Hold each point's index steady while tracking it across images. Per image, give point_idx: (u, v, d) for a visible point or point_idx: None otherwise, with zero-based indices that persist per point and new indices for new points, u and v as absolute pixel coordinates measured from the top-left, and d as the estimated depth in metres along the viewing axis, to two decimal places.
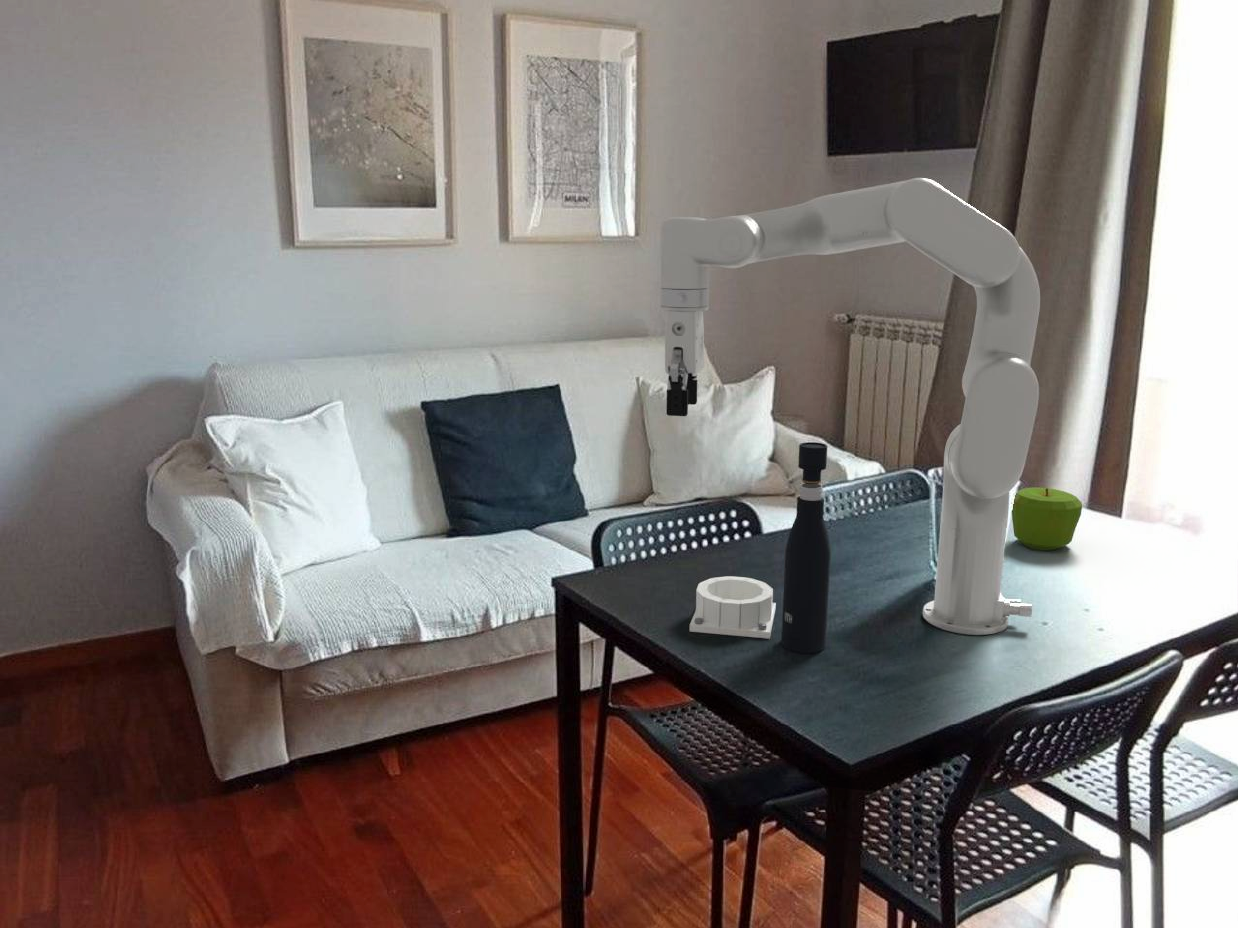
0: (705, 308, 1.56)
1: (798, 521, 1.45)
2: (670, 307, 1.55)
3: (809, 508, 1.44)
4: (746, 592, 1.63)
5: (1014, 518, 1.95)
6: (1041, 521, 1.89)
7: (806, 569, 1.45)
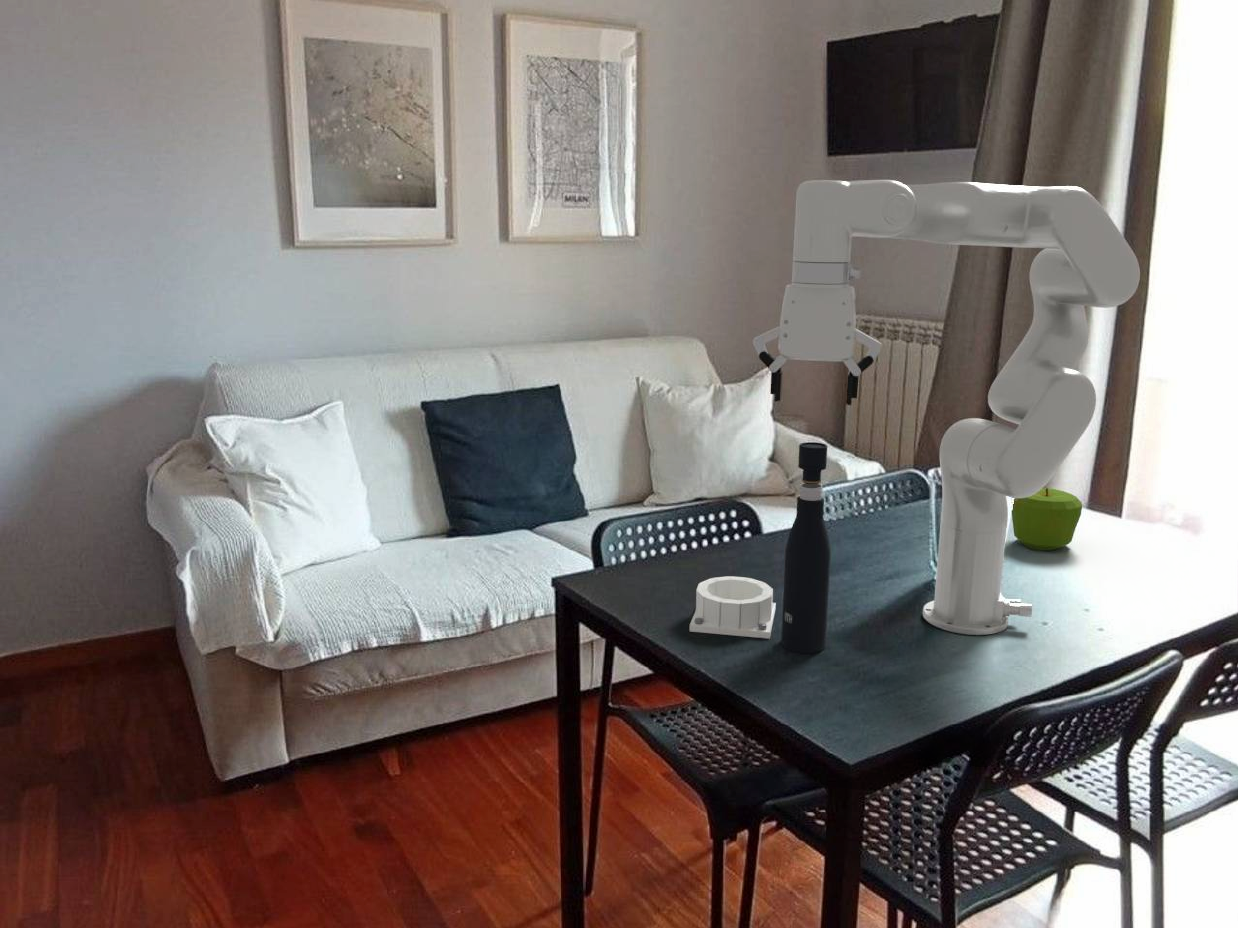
0: None
1: (798, 521, 1.45)
2: (845, 283, 1.36)
3: (809, 508, 1.44)
4: (746, 592, 1.63)
5: (1014, 518, 1.95)
6: (1041, 521, 1.89)
7: (806, 569, 1.45)
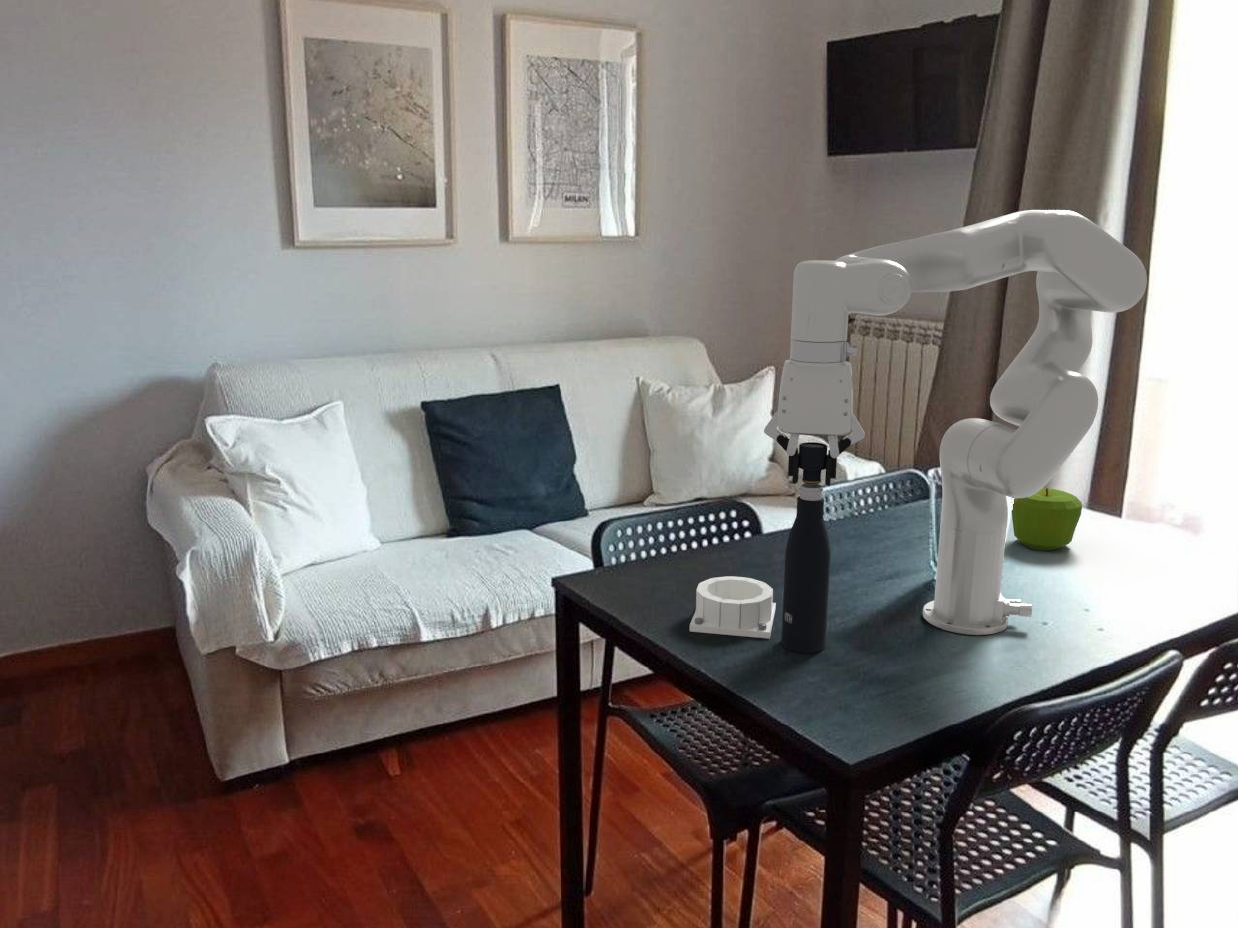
0: None
1: (798, 521, 1.45)
2: (842, 361, 1.39)
3: (809, 508, 1.44)
4: (746, 592, 1.63)
5: (1014, 518, 1.95)
6: (1041, 521, 1.89)
7: (806, 569, 1.45)
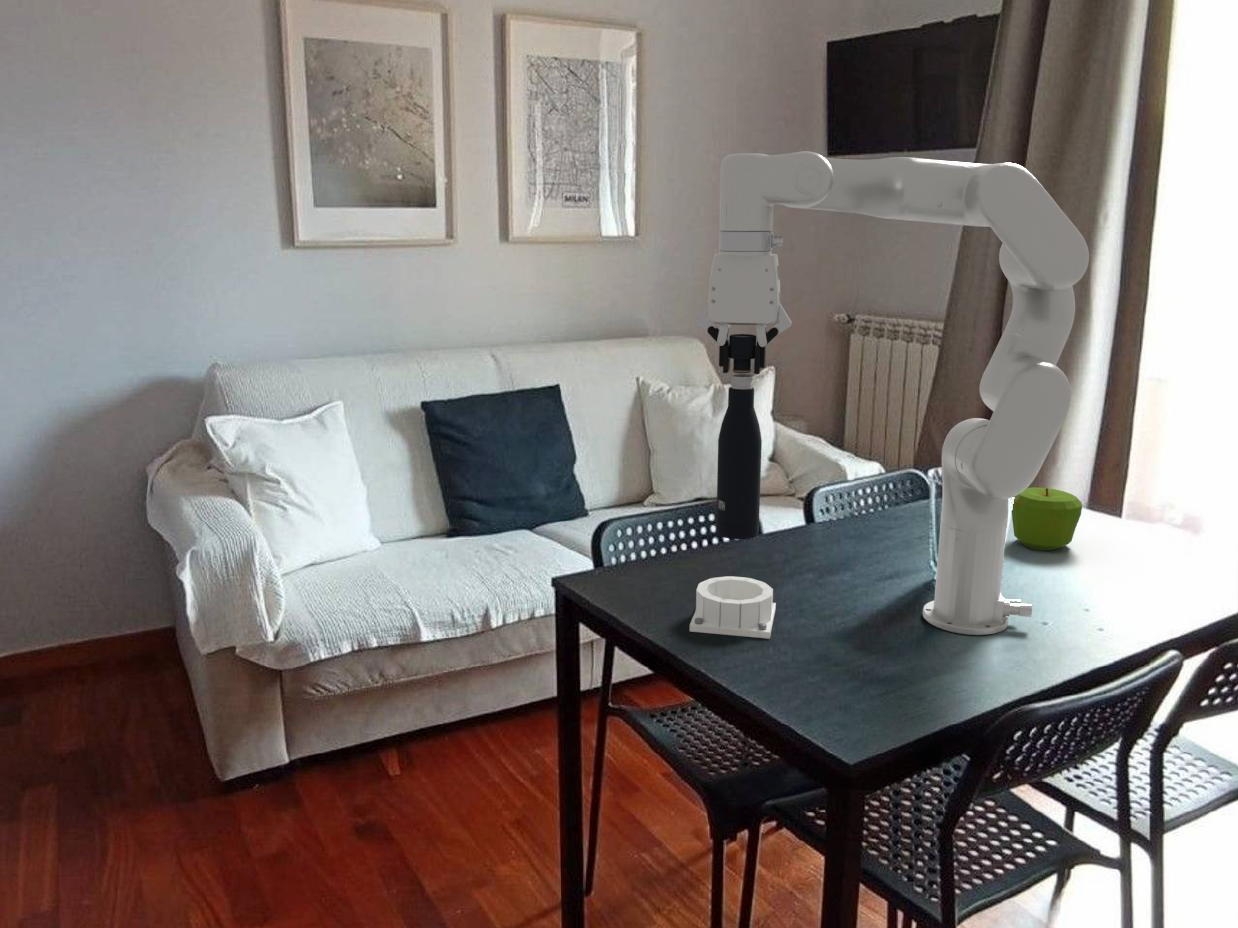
0: None
1: (729, 410, 1.51)
2: (768, 251, 1.44)
3: (739, 397, 1.50)
4: (746, 592, 1.63)
5: (1014, 518, 1.95)
6: (1041, 521, 1.89)
7: (737, 456, 1.50)
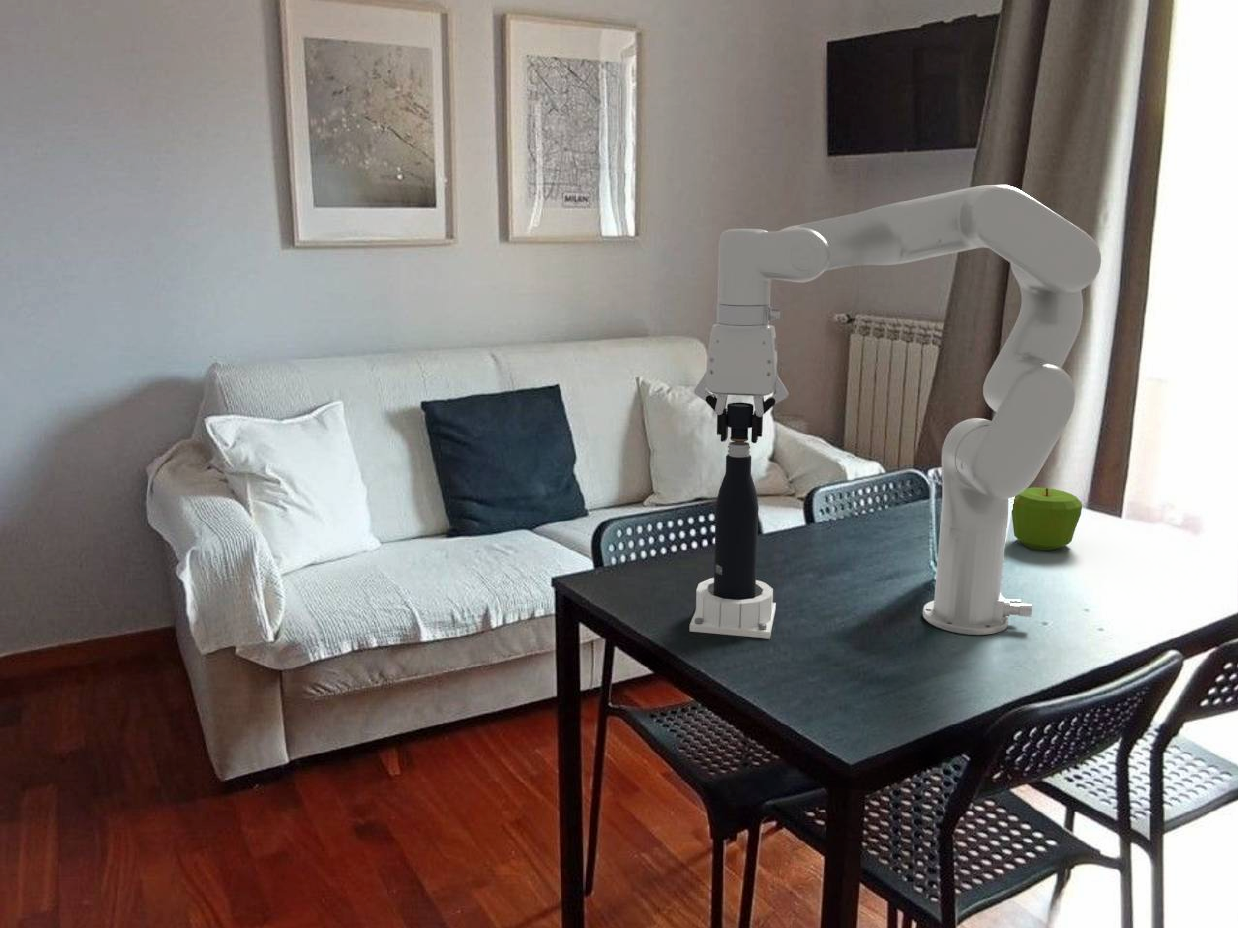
0: None
1: (727, 477, 1.53)
2: (765, 324, 1.47)
3: (736, 465, 1.52)
4: None
5: (1014, 518, 1.95)
6: (1041, 521, 1.89)
7: (734, 522, 1.53)
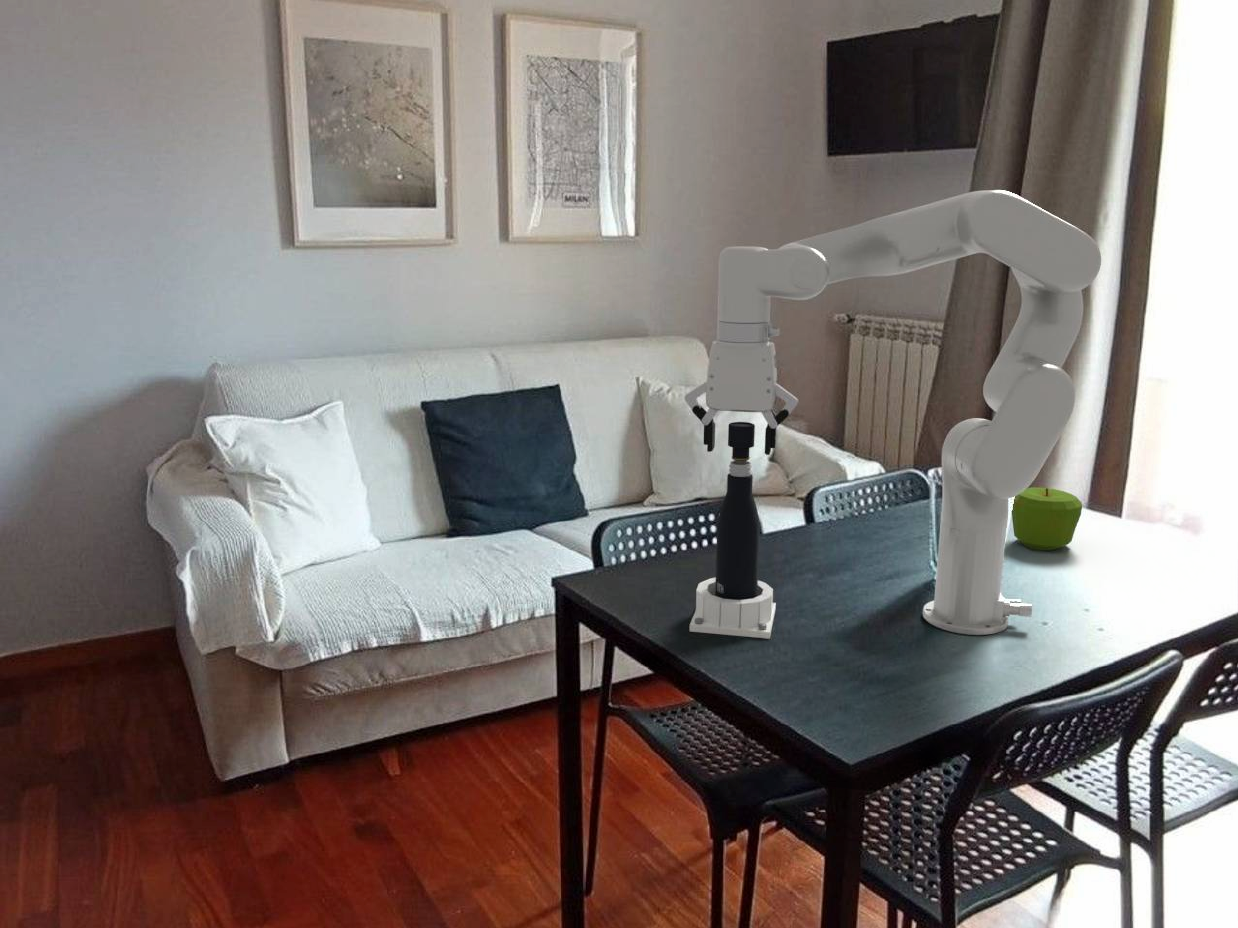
0: None
1: (728, 496, 1.54)
2: (765, 341, 1.47)
3: (738, 484, 1.53)
4: None
5: (1014, 518, 1.95)
6: (1041, 521, 1.89)
7: (736, 541, 1.54)
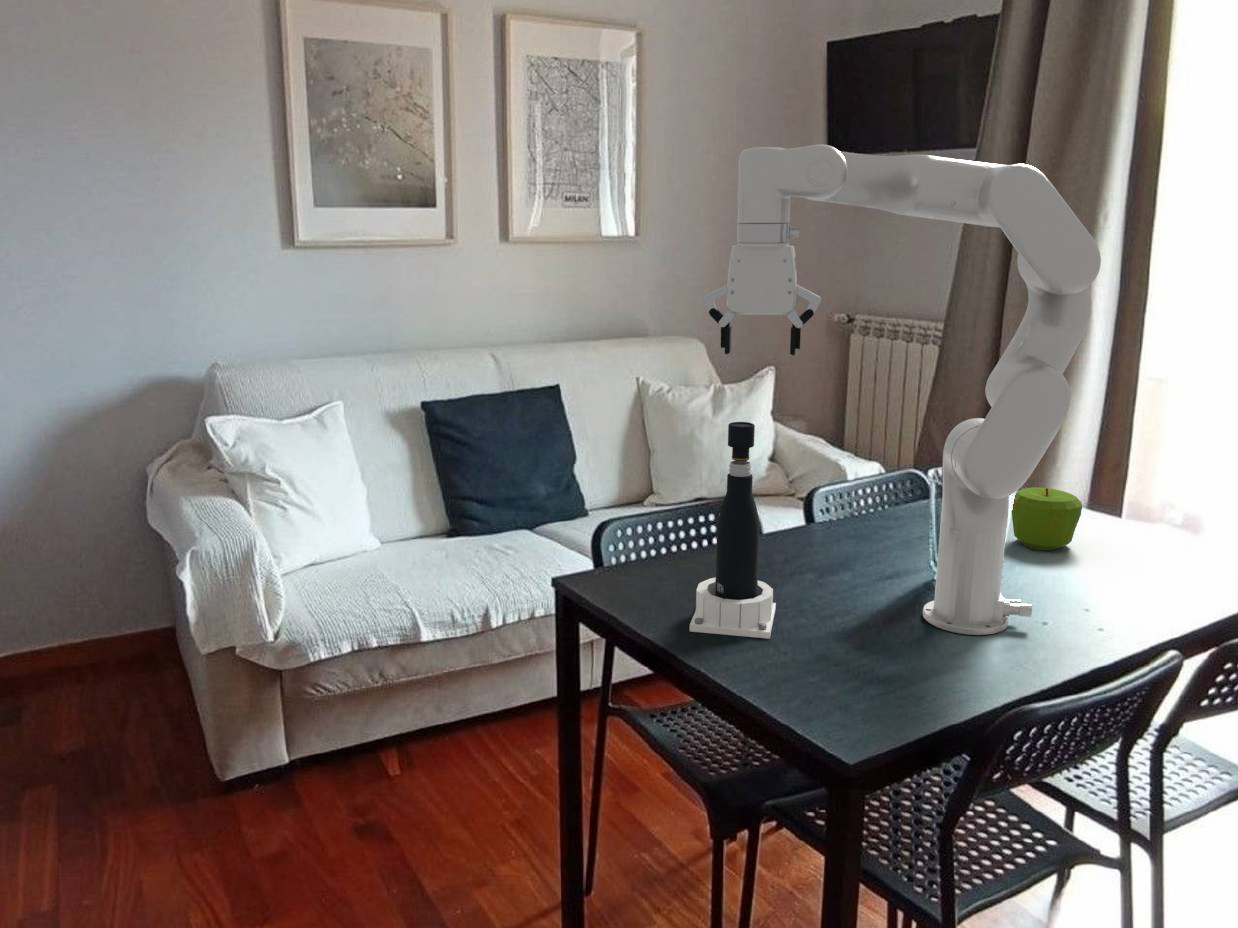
0: None
1: (728, 496, 1.54)
2: (786, 242, 1.48)
3: (738, 484, 1.53)
4: None
5: (1014, 518, 1.95)
6: (1041, 521, 1.89)
7: (736, 541, 1.54)
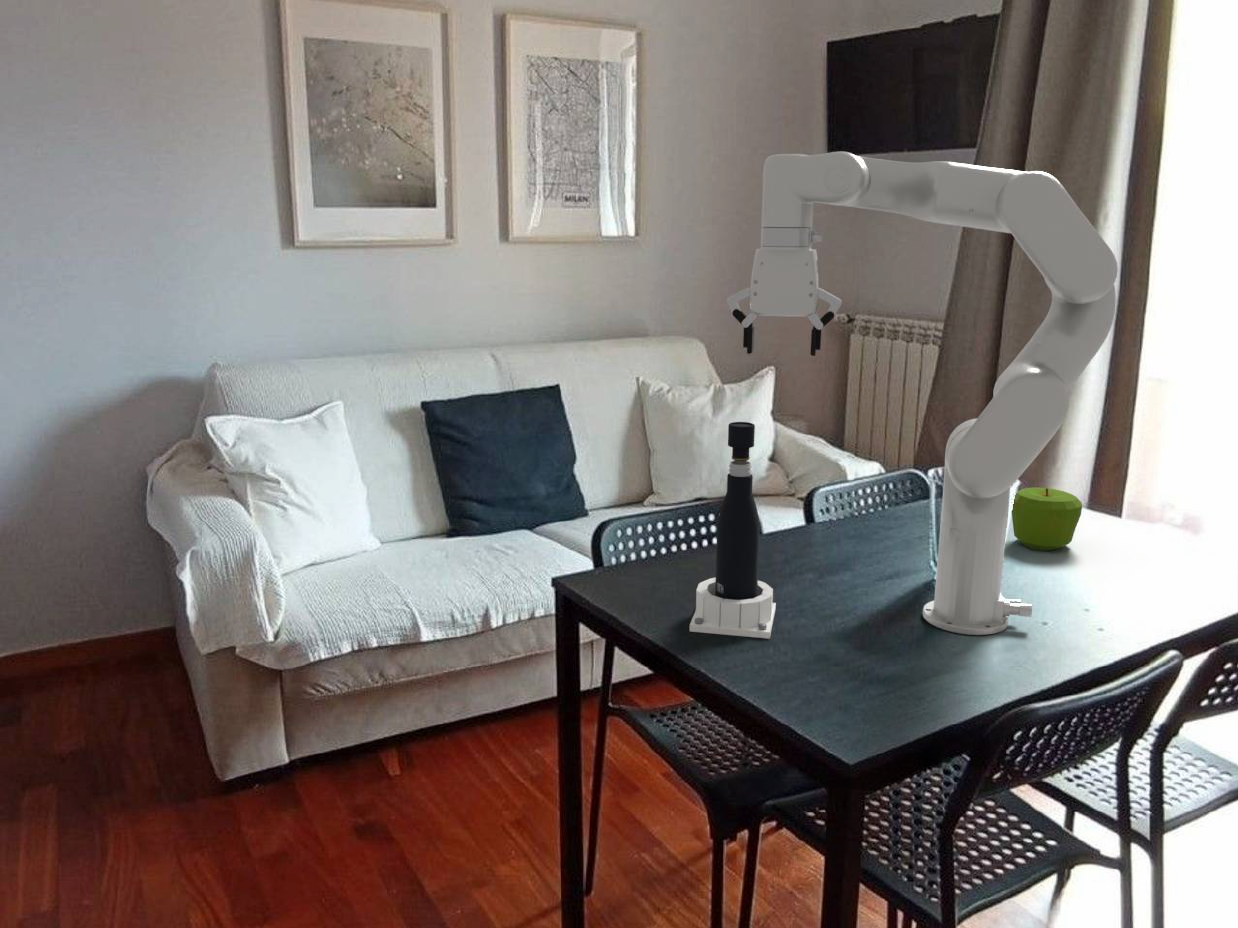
0: None
1: (728, 496, 1.54)
2: (808, 246, 1.52)
3: (738, 484, 1.53)
4: None
5: (1014, 518, 1.95)
6: (1041, 521, 1.89)
7: (736, 541, 1.54)
